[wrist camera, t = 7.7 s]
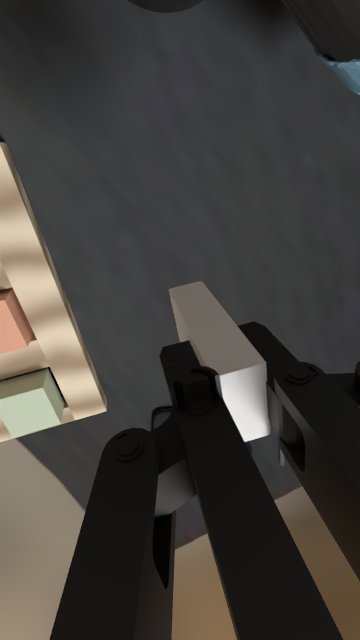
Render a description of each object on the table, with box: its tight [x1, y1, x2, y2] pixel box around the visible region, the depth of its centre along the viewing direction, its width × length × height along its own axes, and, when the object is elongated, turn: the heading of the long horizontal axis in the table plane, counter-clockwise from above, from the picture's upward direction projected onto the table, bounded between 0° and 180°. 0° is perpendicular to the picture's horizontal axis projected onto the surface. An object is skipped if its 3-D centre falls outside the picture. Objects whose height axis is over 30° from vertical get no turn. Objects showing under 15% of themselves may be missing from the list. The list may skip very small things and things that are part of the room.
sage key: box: [0, 368, 64, 438], centre depth 41 cm, size 6×6×4 cm
